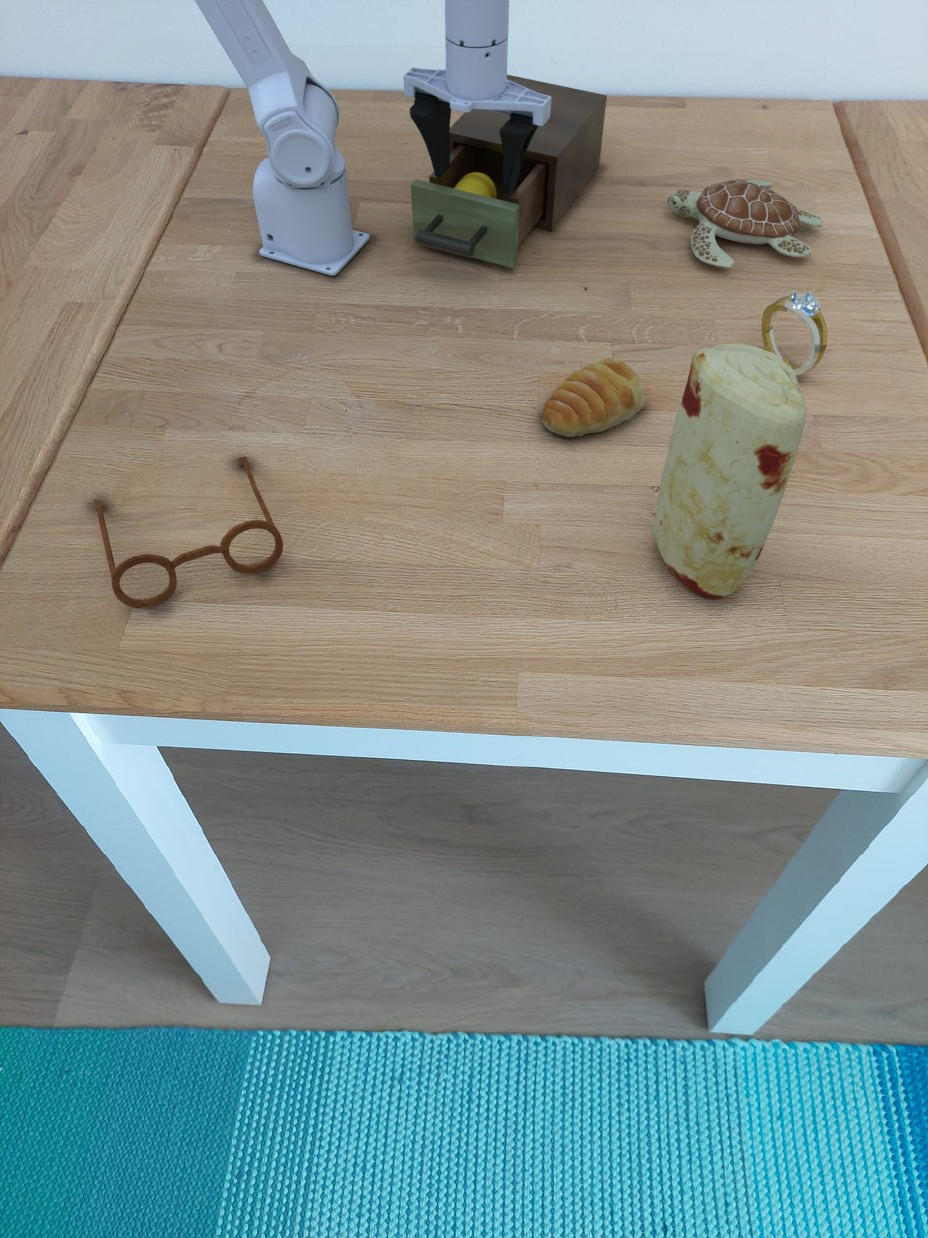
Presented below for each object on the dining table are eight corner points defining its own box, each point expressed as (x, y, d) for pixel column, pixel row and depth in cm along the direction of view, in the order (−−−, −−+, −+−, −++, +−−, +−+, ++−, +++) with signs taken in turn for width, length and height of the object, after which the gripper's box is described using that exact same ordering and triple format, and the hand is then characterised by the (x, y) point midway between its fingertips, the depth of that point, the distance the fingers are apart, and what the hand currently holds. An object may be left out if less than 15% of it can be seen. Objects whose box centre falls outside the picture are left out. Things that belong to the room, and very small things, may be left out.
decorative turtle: (688, 175, 109) (697, 132, 105) (831, 207, 105) (845, 163, 101) (639, 257, 99) (646, 213, 95) (794, 296, 95) (808, 251, 91)
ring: (817, 386, 87) (845, 313, 81) (789, 396, 86) (815, 323, 80) (772, 344, 91) (795, 270, 84) (745, 353, 90) (766, 280, 84)
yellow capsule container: (487, 227, 97) (466, 188, 94) (454, 239, 100) (433, 201, 97) (509, 197, 100) (490, 158, 98) (477, 209, 103) (458, 172, 100)
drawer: (494, 292, 94) (495, 234, 89) (393, 265, 97) (388, 207, 92) (561, 203, 104) (566, 146, 99) (467, 180, 107) (467, 124, 102)
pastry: (573, 456, 82) (577, 423, 79) (523, 416, 85) (525, 383, 82) (649, 411, 85) (655, 377, 82) (598, 374, 88) (602, 340, 85)
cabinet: (551, 231, 103) (557, 156, 96) (447, 205, 106) (445, 131, 99) (599, 167, 110) (607, 94, 104) (500, 145, 114) (502, 72, 107)
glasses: (126, 618, 72) (105, 577, 68) (95, 504, 79) (74, 461, 75) (289, 565, 75) (279, 523, 71) (245, 460, 82) (233, 416, 78)
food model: (625, 548, 76) (665, 344, 59) (687, 514, 78) (743, 308, 62) (706, 630, 71) (775, 432, 55) (771, 591, 73) (855, 389, 57)
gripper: (385, 37, 84) (394, 183, 95) (534, 67, 80) (526, 216, 91) (420, 7, 88) (425, 151, 99) (563, 35, 84) (552, 181, 95)
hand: (475, 180), depth 95 cm, fingers open, 7 cm apart
